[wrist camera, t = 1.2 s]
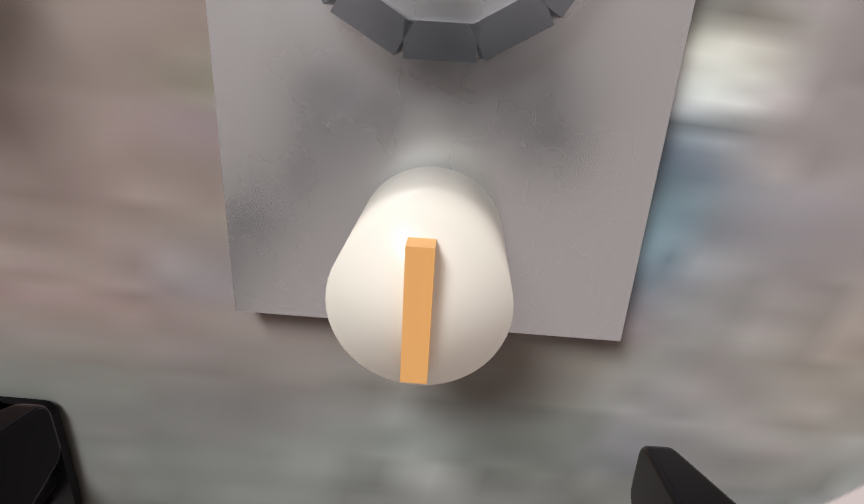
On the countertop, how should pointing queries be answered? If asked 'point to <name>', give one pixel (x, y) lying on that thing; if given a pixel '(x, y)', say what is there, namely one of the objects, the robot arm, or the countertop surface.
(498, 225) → the knob
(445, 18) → the hub plate
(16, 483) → the robot arm
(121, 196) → the countertop surface
